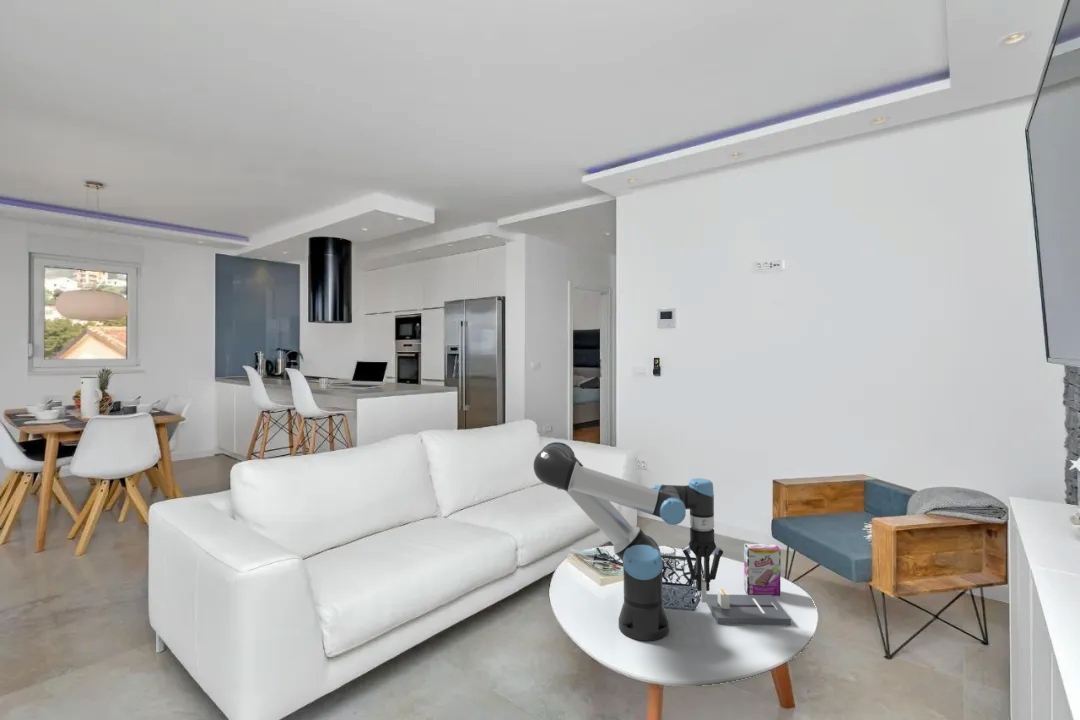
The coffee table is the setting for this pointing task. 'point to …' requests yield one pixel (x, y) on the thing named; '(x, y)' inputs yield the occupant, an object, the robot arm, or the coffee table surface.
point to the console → (748, 610)
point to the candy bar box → (762, 569)
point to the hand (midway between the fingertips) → (703, 600)
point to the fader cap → (723, 599)
